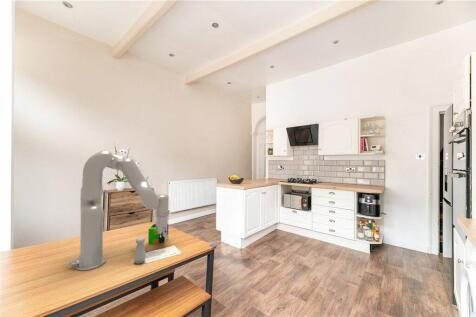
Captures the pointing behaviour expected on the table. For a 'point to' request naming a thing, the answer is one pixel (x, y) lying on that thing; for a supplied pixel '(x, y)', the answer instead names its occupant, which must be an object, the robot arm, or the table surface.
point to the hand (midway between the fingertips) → (161, 242)
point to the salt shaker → (140, 251)
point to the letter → (161, 254)
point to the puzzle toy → (155, 235)
